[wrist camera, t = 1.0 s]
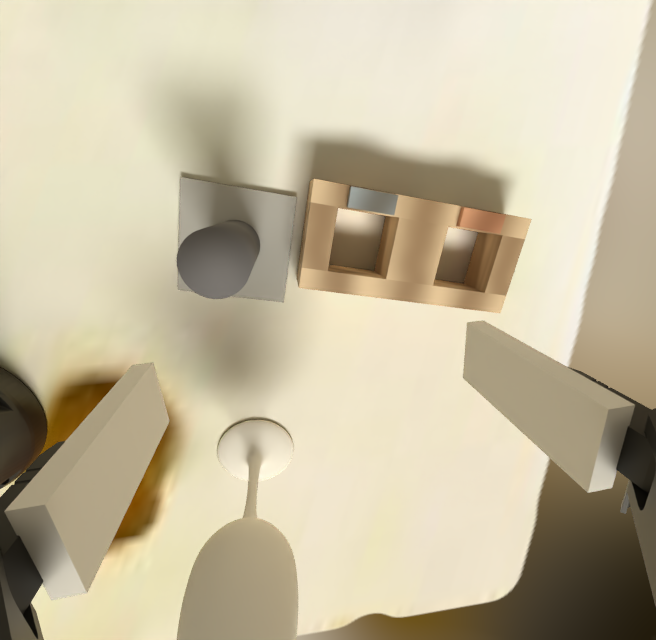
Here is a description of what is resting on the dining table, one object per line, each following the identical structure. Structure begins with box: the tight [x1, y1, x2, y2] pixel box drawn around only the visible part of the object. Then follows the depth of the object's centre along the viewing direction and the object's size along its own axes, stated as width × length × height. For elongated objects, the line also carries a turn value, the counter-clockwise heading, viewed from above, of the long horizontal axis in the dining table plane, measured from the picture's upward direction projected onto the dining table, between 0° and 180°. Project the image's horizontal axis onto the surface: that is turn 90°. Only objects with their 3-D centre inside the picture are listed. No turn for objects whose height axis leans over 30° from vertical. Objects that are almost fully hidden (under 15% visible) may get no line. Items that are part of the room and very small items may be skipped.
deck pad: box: [178, 177, 297, 302], centre depth 31 cm, size 10×10×1 cm
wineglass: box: [177, 420, 298, 640], centre depth 29 cm, size 9×9×21 cm
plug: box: [177, 220, 260, 299], centre depth 26 cm, size 4×4×11 cm
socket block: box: [297, 179, 531, 313], centre depth 31 cm, size 20×9×5 cm, turn 81°
